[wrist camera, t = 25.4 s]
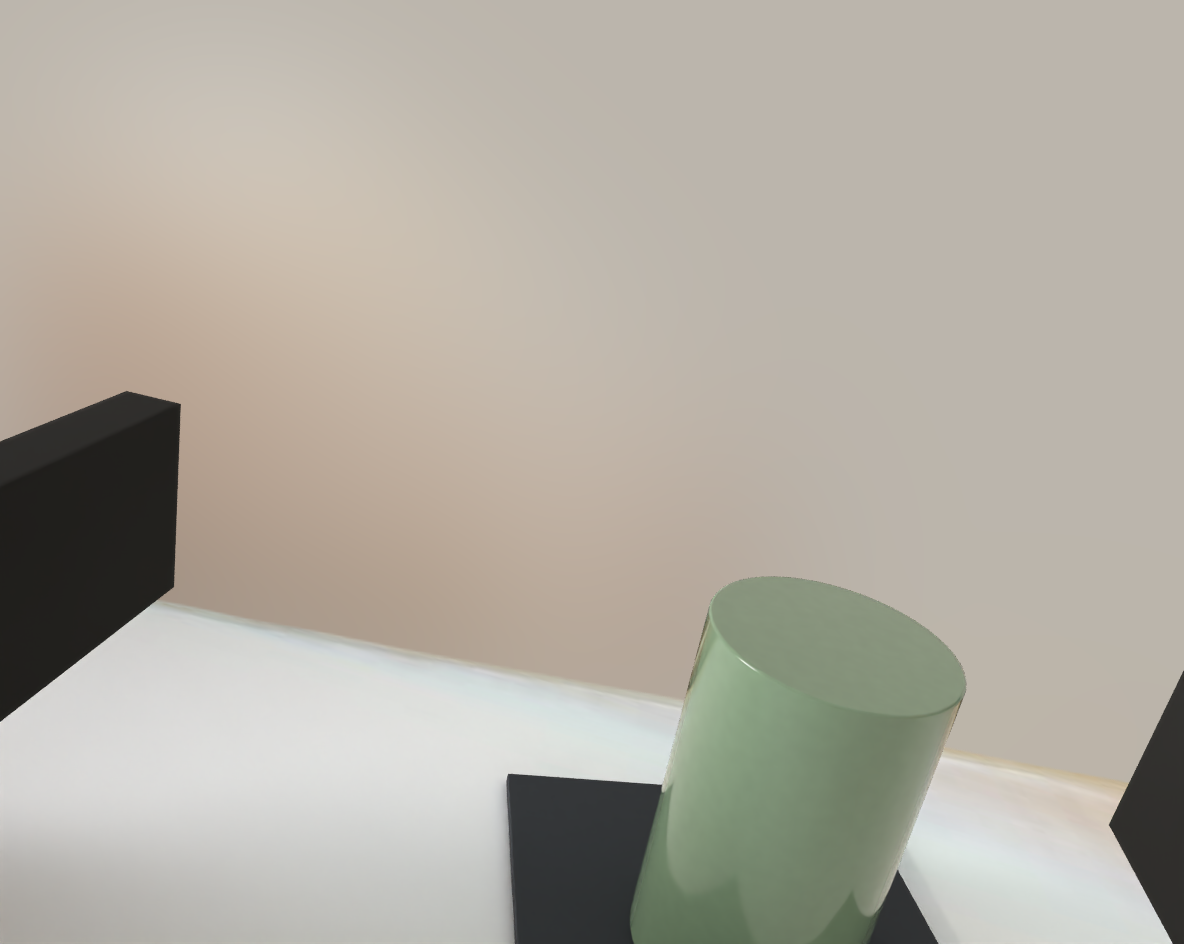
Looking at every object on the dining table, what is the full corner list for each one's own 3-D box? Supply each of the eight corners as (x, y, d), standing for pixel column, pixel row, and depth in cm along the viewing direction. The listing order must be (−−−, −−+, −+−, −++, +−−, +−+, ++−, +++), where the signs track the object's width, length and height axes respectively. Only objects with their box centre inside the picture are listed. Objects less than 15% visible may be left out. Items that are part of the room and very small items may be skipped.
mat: (506, 781, 35) (507, 773, 35) (856, 806, 37) (859, 798, 37) (527, 1187, 22) (530, 1176, 22) (1060, 1183, 24) (1065, 1173, 24)
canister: (583, 923, 29) (658, 612, 25) (711, 826, 34) (790, 556, 30) (775, 1094, 25) (900, 753, 21) (888, 955, 30) (1004, 661, 26)
